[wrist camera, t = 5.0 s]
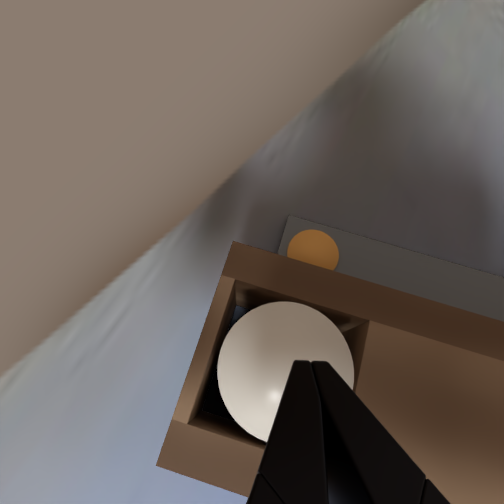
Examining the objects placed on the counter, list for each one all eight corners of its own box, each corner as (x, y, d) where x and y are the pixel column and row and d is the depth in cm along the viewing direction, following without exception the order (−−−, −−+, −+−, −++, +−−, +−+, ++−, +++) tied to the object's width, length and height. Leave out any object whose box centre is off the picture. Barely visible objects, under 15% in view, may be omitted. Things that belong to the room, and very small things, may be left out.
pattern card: (562, 367, 21) (572, 366, 20) (269, 278, 22) (270, 275, 21) (565, 299, 22) (574, 297, 22) (287, 218, 23) (289, 213, 23)
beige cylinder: (306, 437, 19) (337, 465, 13) (210, 405, 19) (198, 419, 13) (329, 339, 20) (366, 323, 14) (240, 311, 21) (241, 285, 15)
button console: (598, 580, 18) (766, 675, 12) (180, 439, 19) (155, 465, 13) (599, 387, 21) (736, 391, 15) (234, 276, 22) (232, 240, 16)
